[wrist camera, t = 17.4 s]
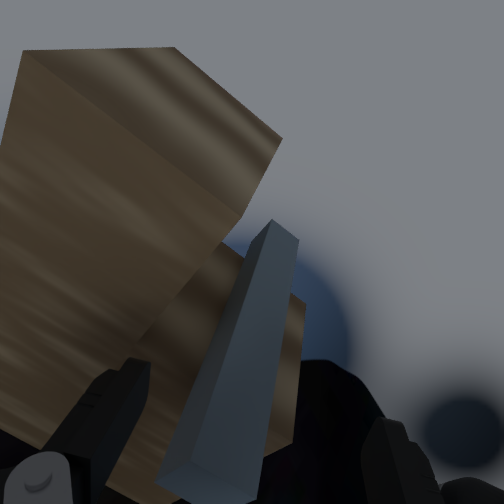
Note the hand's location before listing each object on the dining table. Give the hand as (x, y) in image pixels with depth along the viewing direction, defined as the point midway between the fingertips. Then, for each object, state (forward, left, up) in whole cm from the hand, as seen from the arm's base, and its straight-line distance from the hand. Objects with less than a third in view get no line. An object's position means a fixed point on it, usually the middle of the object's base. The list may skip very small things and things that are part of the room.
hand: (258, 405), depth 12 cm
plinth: (-7, -10, -29) cm, 32 cm away
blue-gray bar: (-10, -6, -8) cm, 14 cm away
